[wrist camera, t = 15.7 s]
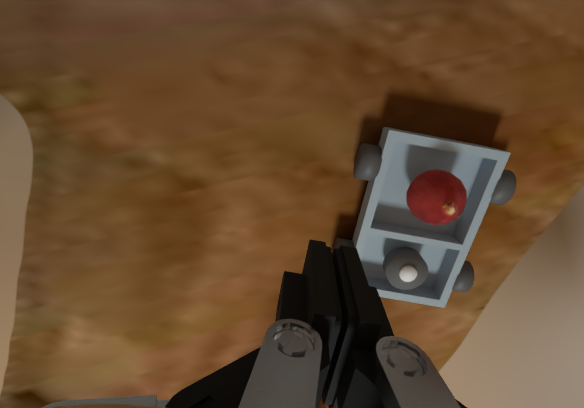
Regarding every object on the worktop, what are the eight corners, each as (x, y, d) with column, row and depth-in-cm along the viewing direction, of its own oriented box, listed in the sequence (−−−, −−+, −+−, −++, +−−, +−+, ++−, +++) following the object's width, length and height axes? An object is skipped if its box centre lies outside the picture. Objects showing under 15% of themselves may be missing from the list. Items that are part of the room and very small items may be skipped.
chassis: (364, 122, 36) (371, 126, 32) (506, 149, 36) (530, 156, 32) (326, 271, 42) (329, 289, 39) (446, 292, 43) (460, 312, 39)
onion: (458, 182, 36) (499, 205, 29) (424, 219, 38) (453, 250, 30) (421, 153, 35) (454, 169, 28) (387, 192, 37) (409, 217, 29)
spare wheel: (389, 243, 38) (394, 253, 36) (427, 250, 38) (435, 260, 36) (378, 276, 39) (382, 288, 37) (415, 283, 40) (421, 295, 37)
